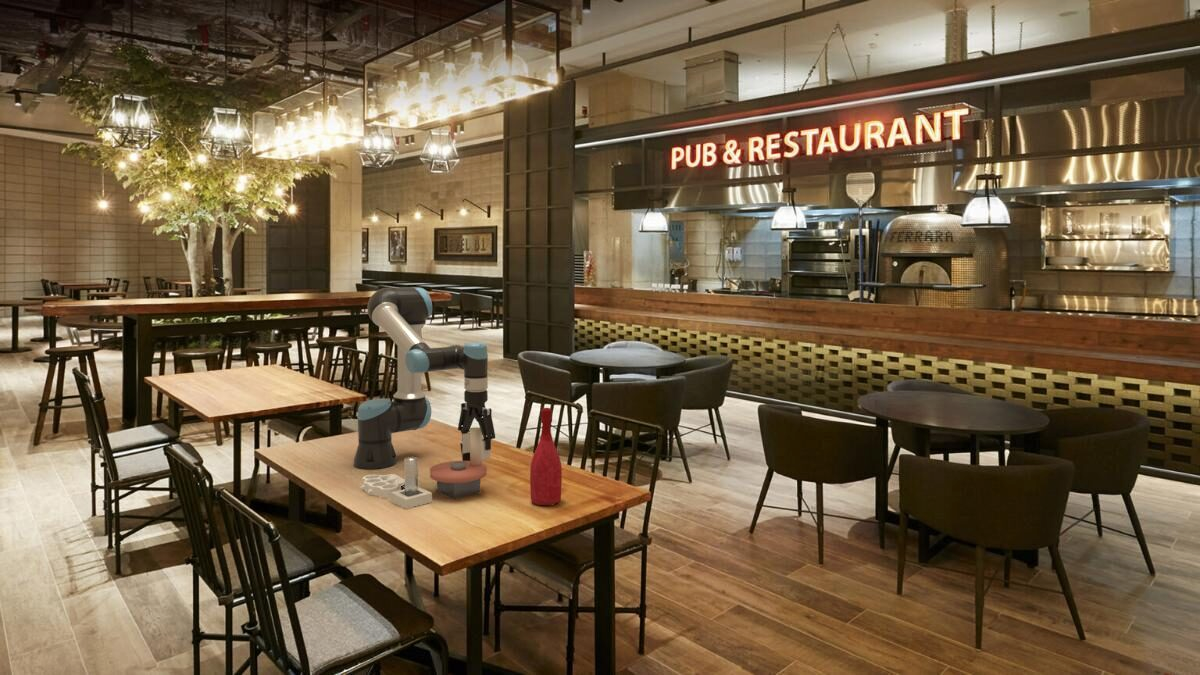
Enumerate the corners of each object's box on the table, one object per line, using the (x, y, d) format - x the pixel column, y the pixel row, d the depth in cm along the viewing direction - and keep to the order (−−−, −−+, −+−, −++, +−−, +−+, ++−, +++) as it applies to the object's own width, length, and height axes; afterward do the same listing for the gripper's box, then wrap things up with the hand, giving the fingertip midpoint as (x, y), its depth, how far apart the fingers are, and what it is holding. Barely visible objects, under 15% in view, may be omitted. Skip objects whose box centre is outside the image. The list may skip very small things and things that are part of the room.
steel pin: (402, 502, 223) (401, 458, 222) (413, 499, 226) (413, 455, 225) (409, 505, 221) (408, 460, 219) (420, 502, 223) (420, 458, 222)
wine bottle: (549, 509, 219) (549, 412, 216) (523, 503, 224) (524, 408, 221) (567, 500, 227) (568, 407, 224) (542, 494, 232) (543, 403, 229)
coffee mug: (479, 472, 255) (479, 445, 254) (456, 470, 257) (456, 443, 256) (490, 463, 266) (490, 437, 265) (468, 462, 268) (468, 435, 267)
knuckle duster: (417, 493, 234) (374, 502, 224) (393, 479, 247) (351, 488, 237) (417, 482, 233) (374, 492, 224) (393, 470, 247) (351, 478, 237)
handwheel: (419, 473, 233) (418, 431, 231) (465, 463, 245) (465, 423, 244) (450, 486, 220) (449, 442, 218) (497, 475, 233) (497, 432, 231)
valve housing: (436, 492, 233) (436, 475, 233) (462, 485, 240) (462, 468, 240) (454, 499, 226) (454, 482, 226) (480, 492, 233) (480, 475, 233)
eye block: (391, 501, 223) (390, 492, 223) (416, 495, 230) (416, 486, 229) (406, 509, 217) (405, 499, 217) (431, 502, 223) (431, 493, 223)
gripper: (446, 386, 240) (447, 450, 242) (487, 396, 224) (487, 465, 226) (465, 383, 245) (465, 447, 248) (506, 393, 229) (506, 460, 232)
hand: (476, 455), depth 237 cm, fingers open, 10 cm apart
